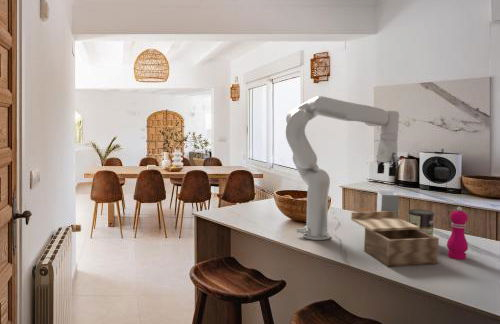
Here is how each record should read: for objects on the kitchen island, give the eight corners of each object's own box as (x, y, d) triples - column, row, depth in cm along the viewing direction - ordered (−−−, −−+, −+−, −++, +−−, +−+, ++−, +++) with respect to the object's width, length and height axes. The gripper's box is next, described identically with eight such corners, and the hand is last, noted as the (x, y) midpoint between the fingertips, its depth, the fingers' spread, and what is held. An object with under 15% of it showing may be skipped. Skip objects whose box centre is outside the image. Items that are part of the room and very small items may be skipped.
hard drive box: (397, 238, 172) (399, 195, 171) (379, 237, 174) (381, 195, 172) (391, 230, 187) (393, 190, 186) (375, 229, 189) (377, 189, 187)
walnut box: (387, 267, 136) (389, 240, 135) (364, 251, 154) (365, 227, 153) (437, 264, 140) (438, 238, 139) (408, 248, 158) (409, 225, 157)
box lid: (372, 231, 147) (372, 222, 147) (351, 220, 165) (351, 212, 165) (419, 229, 151) (419, 220, 150) (393, 218, 169) (394, 210, 168)
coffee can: (434, 241, 168) (435, 210, 167) (431, 248, 159) (432, 215, 158) (409, 238, 173) (410, 208, 172) (405, 243, 165) (406, 212, 163)
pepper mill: (442, 254, 151) (445, 205, 150) (459, 253, 152) (462, 204, 150) (453, 260, 144) (456, 208, 142) (471, 259, 145) (474, 208, 143)
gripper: (371, 137, 181) (369, 172, 183) (391, 138, 164) (389, 176, 166) (385, 137, 183) (383, 172, 184) (407, 138, 166) (404, 177, 167)
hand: (386, 174), depth 175 cm, fingers open, 9 cm apart
